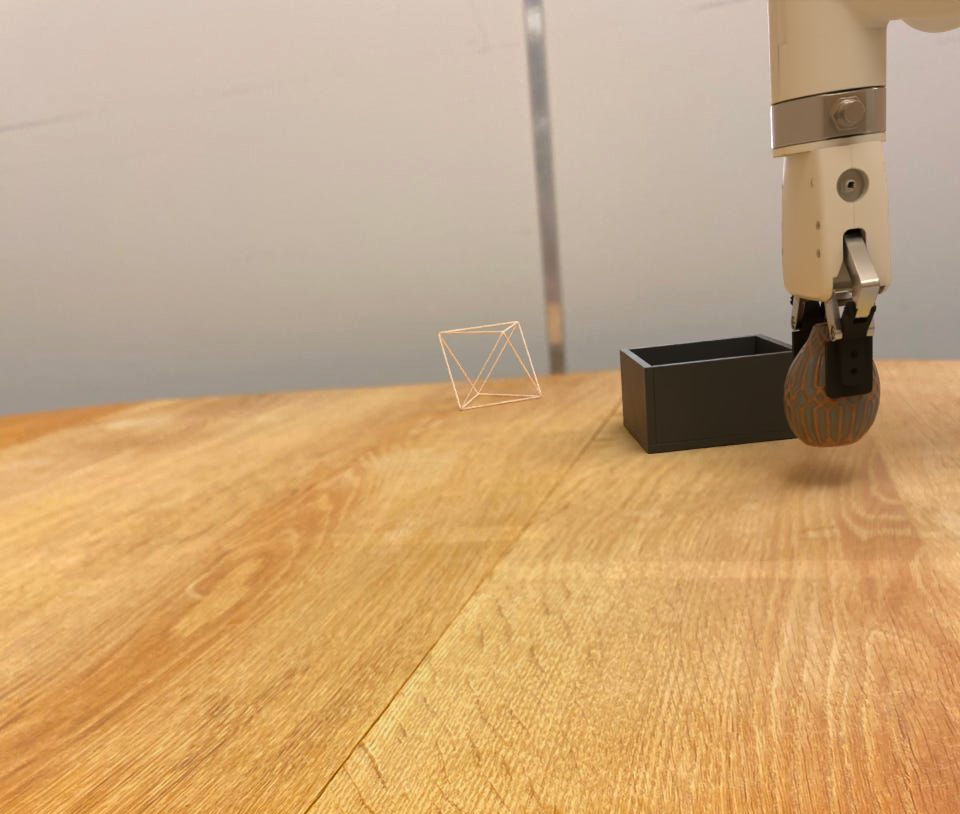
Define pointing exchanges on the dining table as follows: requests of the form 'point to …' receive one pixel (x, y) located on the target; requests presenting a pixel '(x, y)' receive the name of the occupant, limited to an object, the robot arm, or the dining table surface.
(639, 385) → the bin
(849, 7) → the robot arm
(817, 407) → the vase
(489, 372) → the geometric polyhedron
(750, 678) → the dining table surface
